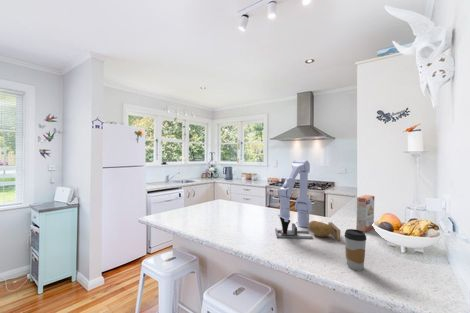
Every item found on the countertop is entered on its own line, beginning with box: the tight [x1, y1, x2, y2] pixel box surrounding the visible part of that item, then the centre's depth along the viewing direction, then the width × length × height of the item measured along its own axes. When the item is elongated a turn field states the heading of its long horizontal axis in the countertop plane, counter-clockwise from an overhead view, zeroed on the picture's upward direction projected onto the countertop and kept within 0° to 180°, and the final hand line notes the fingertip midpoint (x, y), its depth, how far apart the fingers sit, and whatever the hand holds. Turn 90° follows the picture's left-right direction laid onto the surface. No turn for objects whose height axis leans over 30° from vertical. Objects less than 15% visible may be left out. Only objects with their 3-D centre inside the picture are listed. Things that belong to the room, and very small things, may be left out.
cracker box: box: [356, 194, 375, 233], centre depth 144 cm, size 14×6×21 cm, turn 131°
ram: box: [279, 223, 298, 236], centre depth 134 cm, size 9×9×7 cm
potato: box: [308, 220, 333, 238], centre depth 132 cm, size 10×14×8 cm
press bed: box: [274, 221, 341, 242], centre depth 133 cm, size 14×34×6 cm, turn 85°
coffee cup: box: [343, 228, 367, 271], centre depth 96 cm, size 8×8×15 cm
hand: (284, 230), depth 134 cm, fingers closed on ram, 3 cm apart
